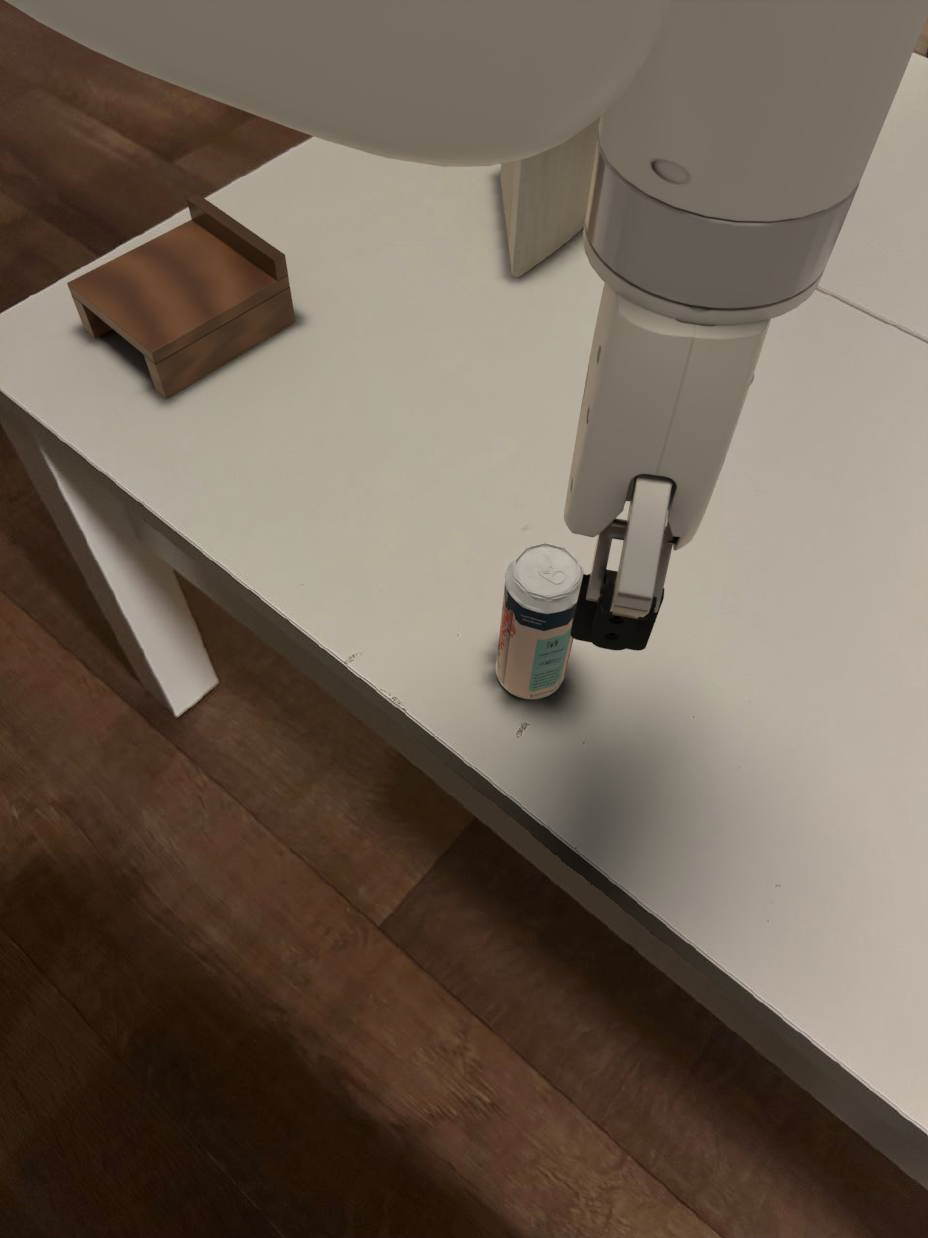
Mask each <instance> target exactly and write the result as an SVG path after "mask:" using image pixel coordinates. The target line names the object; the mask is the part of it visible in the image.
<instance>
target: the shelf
mask: <svg viewBox="0 0 928 1238" xmlns="http://www.w3.org/2000/svg"><path fill="white" fill-rule="evenodd" d="M186 202H187V206H188V207H187V208H188V211H189V215H190V220H188V221H186V222H183V223H182V224H180V225H178V226H176V227H174V228H172V229H170V230H168V231H166V232H164V233H162V234H161V235H158V236H157V237H155V238H152V239H151V240H148V241H146V242H145V243H142V244H140V245H138V246H137V247H135V248H133V249H131V250H129V251H127V252H124V253H123V254H121V255H119V256H117V257H115V258H113V259H111V260H109V261H107V262H105V263H103V264H101V265H99V266H97V267H95V268H93V269H91V270H89V271H87V272H86V273H84V274H82V275H80V276H78V277H76V278H74V279H72V280H70V281H68V282H67V283H66V284H67V288H68V291H69V293H70V295H71V297H72V301H73V303H74V305H75V308H76V311H77V313H78V316H79V318H80V322H81V324H82V327H83V329H84V331H85V332H86V333H87V334H89V336H91V337H92V338H93V339H95V340H96V339H98V338H100V337H102V336H103V335H106V334H107V333H109V332H111V331H113V330H114V331H115V332H116V333H117V334H118V335H119V336H121V337H122V338H123V339H124V340H126V341H127V342H128V343H129V344H130V345H131V346H133V347H134V348H135V349H136V350H137V351H139V353H141V354H142V355H143V357H144V360H145V362H146V366H147V369H148V371H149V375H150V378H151V380H152V384H153V387H154V390H155V391H156V392H157V393H159V395H160V396H161V397H163V398H164V399H165V400H168V399H170V398H171V397H173V396H175V395H177V394H178V393H180V392H181V391H183V390H185V389H186V388H188V387H190V386H191V385H193V384H195V383H196V382H198V381H200V380H201V379H203V378H205V377H206V376H208V375H210V374H211V373H213V372H215V371H217V370H218V369H220V368H221V367H223V366H225V365H226V364H228V363H230V362H232V361H233V360H235V359H237V358H238V357H240V356H242V355H244V354H245V353H246V352H248V351H250V350H251V349H254V348H255V347H257V346H258V345H260V344H262V343H263V342H265V341H266V340H268V339H270V338H272V337H273V336H275V335H277V334H278V333H280V332H282V331H283V330H285V329H287V328H289V327H290V326H292V325H293V324H295V323H296V317H295V309H294V303H293V297H292V296H293V295H292V290H291V286H290V279H289V278H290V277H289V272H288V264H287V257H286V254H285V253H283V252H282V251H280V250H279V249H278V248H276V246H273V244H271V243H269V242H268V241H266V240H265V239H264V238H262V237H261V236H259V235H258V234H256V233H255V232H253V231H252V230H251V229H249V228H248V227H246V226H245V225H244V224H242V223H240V222H239V221H238V220H237V219H235V218H233V216H231V215H229V214H227V213H226V212H225V211H223V210H222V209H220V207H218V206H216V205H214V204H213V203H212V202H211V201H209V200H207V199H206V198H205V197H203V196H202V195H200V194H199V193H195V194H193V195H191V196H189V197H186Z"/></svg>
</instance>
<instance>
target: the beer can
mask: <svg viewBox="0 0 928 1238" xmlns="http://www.w3.org/2000/svg"><path fill="white" fill-rule="evenodd" d="M504 574H505V575H504V589H503V590H504V591H503V599H502V608H501V617H500V618H501V619H500V624H499V625H500V627H499V635H498V645H497V652H496V653H497V654H496V660H495V673H496V677H497V680H498V681H499V683H500V685H501V686H502V687H503V688H504V689H505V690H506V691H507V692H508V693H510V694H511V695H513V696H516V697H518V698H521V699H525V700H539V699H542V698H543V699H544V698H546V697H549V696H550V695H552V694H554V693H555V692H556V691H557V690H558V689H560V687H561V685H562V683H563V682H564V680H565V676H566V673H567V667H568V664H569V660H570V655H571V651H572V646H573V642H574V640H575V639H574V638H572V637H571V635H570V633H571V627H572V621H573V617H574V613H575V608H576V604H577V599H578V595H579V591H580V586H581V582H582V578H583V574H585V572H584V569H583V567H582V565H581V564H580V561H579V560H578V559H577V558H576V557H575V556H574V555H573V554H572V553H571V552H570V551H569V550H568V549H567V548H566V547H563V546H560V545H557V544H552V543H549V542H542V543H538V544H534V545H529V546H526V547H525V548H524V549H523V550H522V551H520V552H519V553H517V555H515V556H514V557H513V558H512V559H511V560H510V562H509V563H508V564H507V567H506V571H505V573H504Z"/></svg>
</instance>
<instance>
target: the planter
mask: <svg viewBox="0 0 928 1238" xmlns="http://www.w3.org/2000/svg"><path fill="white" fill-rule="evenodd" d="M599 122H600V117H599V118H598V119H596V120H595V121H594V122H593V123H592V124H590V125H589V126H587V127H586V128H584V129H583V130H582V131H580V132H579V133H577V134H576V135H574V136H573V137H571V138H570V139H568V140H567V141H565V142H564V143H562V144H560V145H558V146H556V147H553V148H551V149H548V150H546V151H544V152H541V153H539V154H537V155H534V156H532V157H529V158H525V159H521V160H516V161H511V162H507V163H502V164H500V173H499V182H500V186H501V194H502V195H501V197H502V205H503V212H504V220H505V229H506V237H507V244H508V245H507V246H508V253H509V262H510V270H511V276H512V277H513V278H515V279H518V278H520V277H522V276H523V275H525V274H526V273H527V272H528V271H530V270H531V269H533V268H534V267H535V266H537V265H538V264H540V263H541V262H543V261H544V260H545V259H547V258H548V257H550V256H551V255H552V254H554V253H555V252H556V251H557V250H559V249H560V248H562V247H563V246H564V245H565V244H566V243H568V242H569V241H570V240H571V239H573V238H574V237H575V236H576V235H577V234H578V233H580V232H581V230H583V229H584V223H585V217H586V213H587V206H588V199H589V193H590V186H591V179H592V173H593V166H594V159H595V153H596V146H597V139H598V133H599Z"/></svg>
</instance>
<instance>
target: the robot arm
mask: <svg viewBox="0 0 928 1238" xmlns="http://www.w3.org/2000/svg"><path fill="white" fill-rule="evenodd" d="M4 1H5V2H6V3H8V4H10V5H11V6H12V7H14V8H16V9H17V10H19V11H21V12H22V13H24V14H25V15H27V16H29V17H30V18H32V19H34V20H35V21H37V22H38V23H40V24H41V25H44V26H46V27H47V28H50V29H51V30H54V31H55V32H57V33H58V34H61V35H62V36H65V37H67V38H69V39H70V40H73V41H74V42H76V43H78V44H79V45H82V46H84V47H86V48H87V49H89V50H91V51H93V52H95V53H98V54H100V55H103V56H105V57H107V58H109V59H112V60H114V61H116V62H118V63H120V64H123V65H125V66H127V67H129V68H132V69H133V70H136V71H139V72H140V73H143V74H146V75H148V76H151V77H154V78H156V79H159V80H161V81H164V82H166V83H169V84H172V85H173V86H174V85H175V86H177V87H180V88H182V89H185V90H187V91H190V92H192V93H195V94H197V95H200V96H203V97H205V98H208V99H211V100H214V101H216V102H219V103H222V104H224V105H227V106H229V107H233V108H235V109H237V110H241V111H243V112H246V113H248V114H251V115H254V116H257V117H259V118H262V119H264V120H267V121H270V122H272V123H275V124H278V125H281V126H283V127H286V128H288V129H292V130H295V131H296V132H297V131H298V132H301V133H303V134H306V135H309V136H312V137H315V138H318V139H320V140H323V141H326V142H330V143H333V144H335V145H340V146H344V147H347V148H351V149H353V150H357V151H360V152H363V153H366V154H370V155H374V156H378V157H381V158H385V159H389V160H394V161H395V160H397V161H401V162H409V163H415V164H423V165H430V166H434V167H444V168H458V167H459V168H460V167H461V168H463V167H464V168H465V167H468V168H469V167H492V166H497V165H501V164H502V163H507V162H511V161H516V160H521V159H525V158H529V157H532V156H534V155H537V154H539V153H541V152H544V151H546V150H548V149H551V148H553V147H556V146H558V145H560V144H562V143H564V142H565V141H567V140H568V139H570V138H571V137H573V136H574V135H576V134H577V133H579V132H580V131H582V130H583V129H584V128H586V127H587V126H589V125H590V124H592V123H593V122H594V121H595V120H596V119H598V118H599V117H600V122H599V133H598V139H597V146H596V153H595V159H594V166H593V173H592V179H591V186H590V193H589V199H588V206H587V213H586V217H585V223H584V228H583V229H582V245H583V250H584V253H585V255H586V258H587V260H588V263H589V265H590V267H591V269H593V270H594V272H595V273H596V275H597V276H598V277H599V278H600V279H601V281H603V282H604V283H603V286H602V292H601V296H600V301H599V306H598V311H597V316H596V321H595V327H594V332H593V337H592V342H591V348H590V354H589V359H588V365H587V370H586V377H585V381H584V389H583V395H582V400H581V406H580V412H579V417H578V424H577V428H576V429H577V430H576V435H575V441H574V448H573V452H572V460H571V466H570V473H569V478H568V484H567V490H566V496H565V497H566V498H565V504H564V509H563V510H564V512H563V521H564V523H565V525H566V527H567V528H568V530H569V531H570V532H571V533H572V534H574V535H578V536H579V535H580V536H584V537H588V538H593V539H594V538H595V537H597V538H596V543H595V548H594V552H593V558H592V563H591V568H590V573H588V574H585V573H584V574H583V578H582V582H581V586H580V591H579V595H578V599H577V604H576V608H575V613H574V617H573V621H572V627H571V633H570V635H571V637H572V638H574V639H573V640H576V641H581V642H586V643H591V644H592V645H594V646H595V647H596V648H599V649H604V650H609V651H624V650H632V651H637V652H638V651H644V650H645V649H646V648H647V645H648V643H649V640H650V637H651V634H652V632H653V629H654V627H655V623H656V621H657V619H658V618H657V617H658V615H659V612H660V609H661V606H662V604H663V601H664V598H665V590H666V589H665V587H664V586H665V582H666V578H667V573H668V568H669V563H670V559H671V555H672V550H673V551H679V550H681V549H682V548H684V547H686V546H687V545H688V544H689V543H690V542H692V540H693V539H694V538H695V536H696V534H697V532H698V530H699V528H700V525H701V523H702V521H703V519H704V517H705V514H706V512H707V509H708V506H709V504H710V501H711V498H712V496H713V493H714V490H715V488H716V485H717V483H718V479H719V477H720V474H721V471H722V470H723V469H722V468H723V466H724V463H725V460H726V458H727V455H728V452H729V449H730V446H731V444H732V440H733V437H734V434H735V432H736V429H737V425H738V423H739V420H740V417H741V414H742V410H743V407H744V405H745V401H746V398H747V396H748V392H749V389H750V386H751V385H752V384H753V382H754V380H755V371H756V368H757V365H758V361H759V358H760V356H761V352H762V349H763V345H764V343H765V340H766V338H767V337H766V336H767V334H768V331H769V327H770V323H771V321H772V319H775V318H778V317H781V316H783V315H785V314H787V313H789V312H791V311H792V310H795V309H796V308H798V307H800V305H802V304H803V303H805V302H806V301H807V300H808V299H809V298H811V296H812V295H813V294H814V292H815V291H816V289H817V288H818V286H819V284H820V282H821V280H822V277H823V275H824V272H825V270H826V268H827V265H828V263H829V260H830V257H831V255H832V253H833V251H834V247H835V245H836V243H837V240H838V238H839V235H840V234H841V231H842V228H843V225H844V223H845V221H846V218H847V216H848V213H849V211H850V208H851V206H852V204H853V201H854V198H855V197H856V193H857V191H858V189H859V187H860V183H861V180H862V178H863V176H864V173H865V171H866V169H867V166H868V163H869V161H870V159H871V156H872V153H873V151H874V149H875V146H876V144H877V141H878V139H879V137H880V133H881V131H882V129H883V127H884V124H885V122H886V120H887V117H888V114H889V112H890V110H891V107H892V104H893V102H894V99H895V97H896V95H897V92H898V90H899V88H900V85H901V83H902V80H903V78H904V75H905V73H906V70H907V68H908V65H909V63H910V61H911V58H912V57H913V53H914V51H915V49H916V46H917V43H918V41H919V38H920V36H921V33H922V31H923V29H924V26H925V23H926V21H927V19H928V0H4ZM626 502H629V507H628V512H627V516H626V517H627V518H626V519H622V518H617V517H619V515H621V513H623V512H624V508H625V505H626ZM613 540H617V541H618V540H619V541H622V545H621V553H620V558H619V565H618V569H617V570H611V569H607V568H608V563H609V559H610V553H611V549H612V548H611V547H612V543H613Z"/></svg>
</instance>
